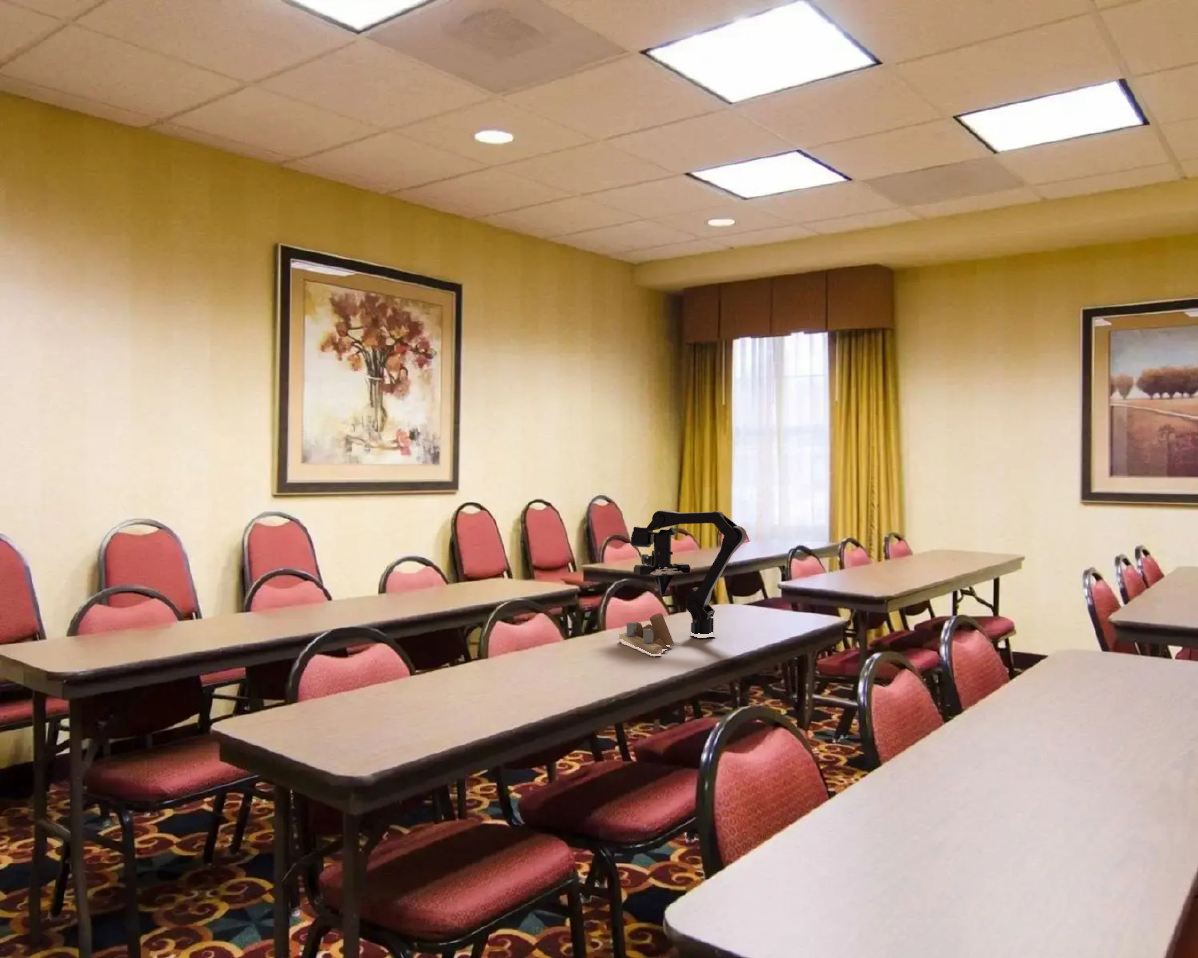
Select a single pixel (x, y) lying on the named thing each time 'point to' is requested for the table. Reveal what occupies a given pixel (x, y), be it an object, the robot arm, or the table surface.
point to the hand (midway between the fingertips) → (662, 594)
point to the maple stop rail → (641, 644)
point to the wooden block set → (657, 631)
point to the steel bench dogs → (646, 633)
